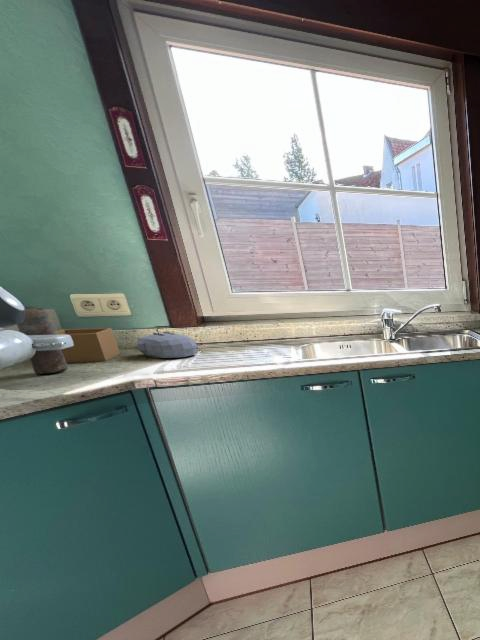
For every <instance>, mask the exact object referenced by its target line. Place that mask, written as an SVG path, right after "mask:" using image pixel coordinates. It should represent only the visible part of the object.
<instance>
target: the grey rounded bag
mask: <svg viewBox="0 0 480 640" xmlns="http://www.w3.org/2000/svg"><path fill="white" fill-rule="evenodd" d="M136 346H137V347H138V350H139V351H140V353H141V354H143V355H145V356H146V357H149V358H153V359H182V358H186V357H191V356H195V355H197V354H198V343H197V342H196V341H195V340H194V339H192V338H191V337H190V336H189V335H185V334H180V333H174V332H170V331H162V333H161V332H152V334H149V335H145V336H141V337H138V339H137V341H136Z"/></svg>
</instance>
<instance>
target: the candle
mask: <svg viewBox="0 0 480 640" xmlns="http://www.w3.org/2000/svg"><path fill="white" fill-rule="evenodd" d="M24 307H25V311H26V313H25V318H24V321H23V322H22V323H20V324H17V325H16V326H17V329H18V332H21V333H23V334H25V335H55V332H56V331H55V330H54V327H53V324H52V321H51V320H50V316H49V313H48V311H47V308H44V307H43V308H42V307H35V306H24ZM29 361H30V363H31V367H32V369H33V371H34V374H35V375H43V374H53V373H55V374H56V373H61V372H66V370H68V369H69V367H68V363H66V361H65V358H64V356H63V353H62V350H61V349H59V350H42V351H36V352H35V354H34V356H33V357H32V358H30V359H29Z"/></svg>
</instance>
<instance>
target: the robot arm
mask: <svg viewBox="0 0 480 640" xmlns="http://www.w3.org/2000/svg"><path fill="white" fill-rule="evenodd" d="M25 307H26V306H24V304H23V303H22V302H21V301H20V300H19V299H18V298H17V297H16V296H14V295H13V294H12V293H11V292H10V291H8V289H7V288H5V287H4V286H3V284H1V283H0V370H2V369H6V368H8V367H11V366H13V365H17V364H20V363H22V362H25V361H28V360H30V358H32V357H33V356H34V354H35V352H36V351H42V350H59V349H65V348H69V347H72V346H74V344H73V340H72V338H71V336H70V335H67V334H61V335H25V334H23V333H21V332H19V330H18V331H17V330H15V329H13V330H12V329H8V328H10V327H14V326H17V324H20V323H22V322H23V321H24V318H25V313H26V311H25Z"/></svg>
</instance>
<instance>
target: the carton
mask: <svg viewBox="0 0 480 640" xmlns="http://www.w3.org/2000/svg"><path fill="white" fill-rule="evenodd" d="M54 332H55V335H61V334H67V335H70V336H71V338H72V340H73V344H74V346H72V347H69V348H65V349H61V350H62V353H63V356H64V358H65V361H66V364H68V363H69V364H70V363H89V362H90V363H91V362H106V361H108V360H111V359H112V358H115V357H118V356H119V355H120V354H121V352H120V349H119V346H118V343H117V340H116V338H115V335H114V331H113V329H112V327H106V328H105V327H104V328H102V327H101V328H67V329H66V328H65V329H64V328H63V329H60V330H56V331H54Z"/></svg>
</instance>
